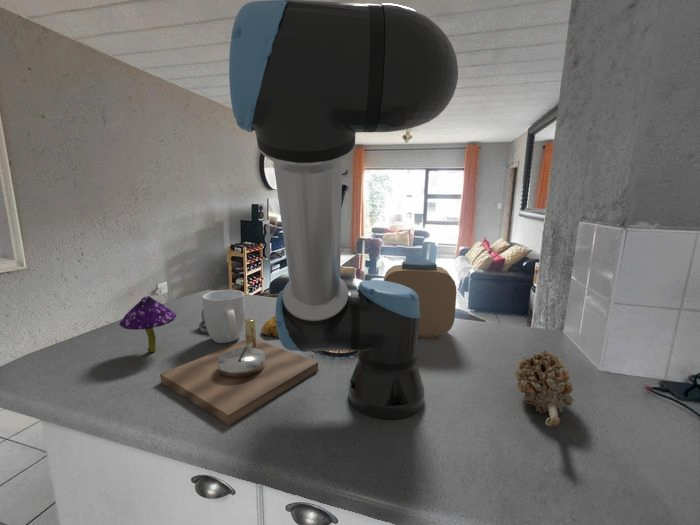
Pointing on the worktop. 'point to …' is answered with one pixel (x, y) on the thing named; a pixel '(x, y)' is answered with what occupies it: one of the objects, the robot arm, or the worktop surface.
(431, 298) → the alarm clock
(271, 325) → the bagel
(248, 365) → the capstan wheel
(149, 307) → the decorative mushroom
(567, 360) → the worktop surface
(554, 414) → the morel mushroom
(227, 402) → the base plate
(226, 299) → the mug
